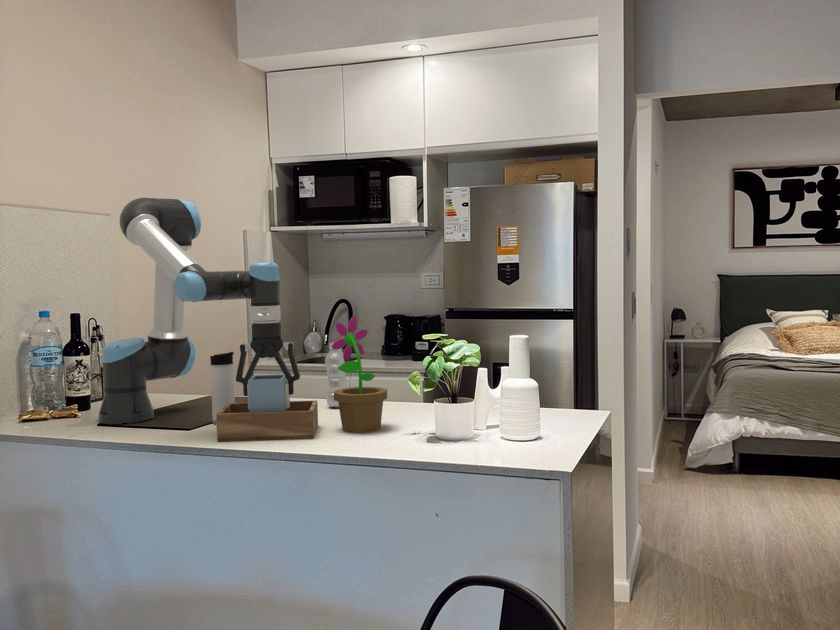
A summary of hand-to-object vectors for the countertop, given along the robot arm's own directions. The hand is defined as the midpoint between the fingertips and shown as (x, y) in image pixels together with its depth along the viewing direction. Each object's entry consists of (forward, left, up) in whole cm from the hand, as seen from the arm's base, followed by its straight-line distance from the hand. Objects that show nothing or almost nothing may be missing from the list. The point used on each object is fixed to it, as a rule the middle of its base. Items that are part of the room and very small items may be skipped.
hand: (269, 407), depth 202 cm
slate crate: (0, 0, -1) cm, 1 cm away
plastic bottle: (-35, +16, -7) cm, 39 cm away
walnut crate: (0, 0, -7) cm, 7 cm away
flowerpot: (-2, +24, -7) cm, 25 cm away
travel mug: (-17, -15, -7) cm, 24 cm away
